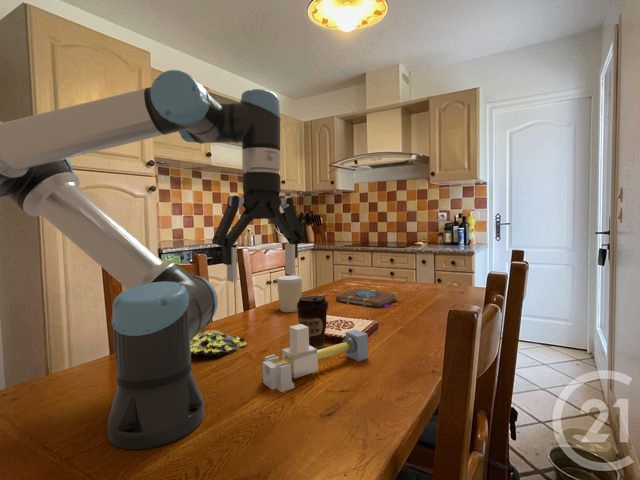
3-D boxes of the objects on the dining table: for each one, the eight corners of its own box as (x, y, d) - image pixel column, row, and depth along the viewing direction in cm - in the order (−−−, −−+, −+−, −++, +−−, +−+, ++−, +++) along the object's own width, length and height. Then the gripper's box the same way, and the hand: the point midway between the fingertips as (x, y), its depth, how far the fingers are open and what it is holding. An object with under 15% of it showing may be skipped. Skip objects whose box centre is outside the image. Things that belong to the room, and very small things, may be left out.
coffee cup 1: (307, 308, 137) (307, 276, 136) (293, 314, 129) (291, 280, 128) (288, 305, 142) (287, 274, 141) (272, 310, 134) (271, 278, 133)
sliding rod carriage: (294, 378, 76) (292, 332, 75) (282, 370, 80) (281, 327, 79) (317, 370, 79) (316, 326, 79) (305, 363, 83) (304, 321, 82)
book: (390, 314, 130) (389, 300, 130) (334, 304, 146) (333, 292, 145) (409, 302, 143) (409, 290, 143) (356, 294, 158) (355, 283, 158)
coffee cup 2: (325, 352, 93) (324, 302, 92) (294, 350, 94) (292, 301, 93) (331, 340, 101) (330, 294, 100) (302, 339, 103) (301, 293, 102)
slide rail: (277, 393, 72) (275, 364, 71) (259, 379, 78) (257, 352, 78) (373, 360, 87) (372, 335, 86) (351, 350, 93) (350, 327, 93)
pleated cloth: (155, 355, 97) (157, 330, 99) (205, 352, 110) (206, 329, 112) (204, 358, 86) (205, 329, 88) (253, 354, 99) (254, 329, 101)
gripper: (209, 165, 62) (211, 288, 64) (321, 175, 78) (321, 273, 79) (192, 169, 68) (195, 281, 69) (300, 177, 84) (300, 269, 85)
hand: (262, 277), depth 74 cm, fingers open, 13 cm apart
